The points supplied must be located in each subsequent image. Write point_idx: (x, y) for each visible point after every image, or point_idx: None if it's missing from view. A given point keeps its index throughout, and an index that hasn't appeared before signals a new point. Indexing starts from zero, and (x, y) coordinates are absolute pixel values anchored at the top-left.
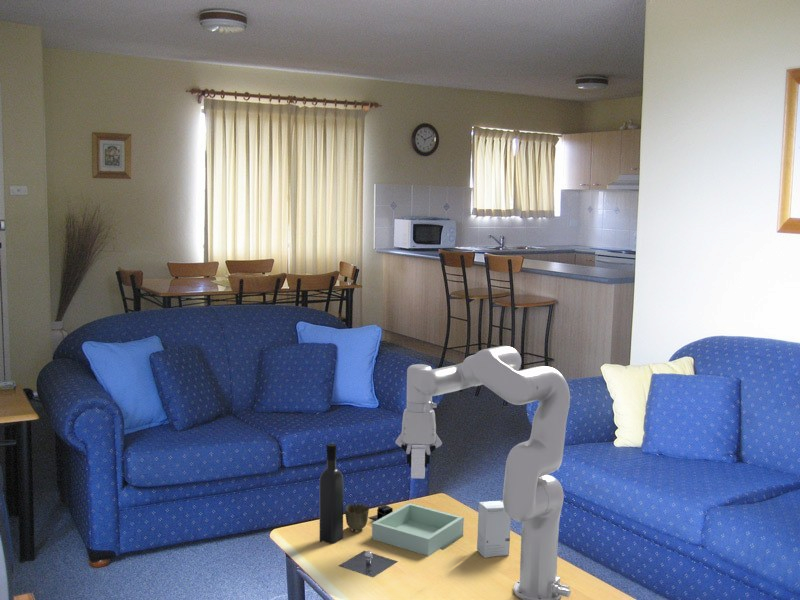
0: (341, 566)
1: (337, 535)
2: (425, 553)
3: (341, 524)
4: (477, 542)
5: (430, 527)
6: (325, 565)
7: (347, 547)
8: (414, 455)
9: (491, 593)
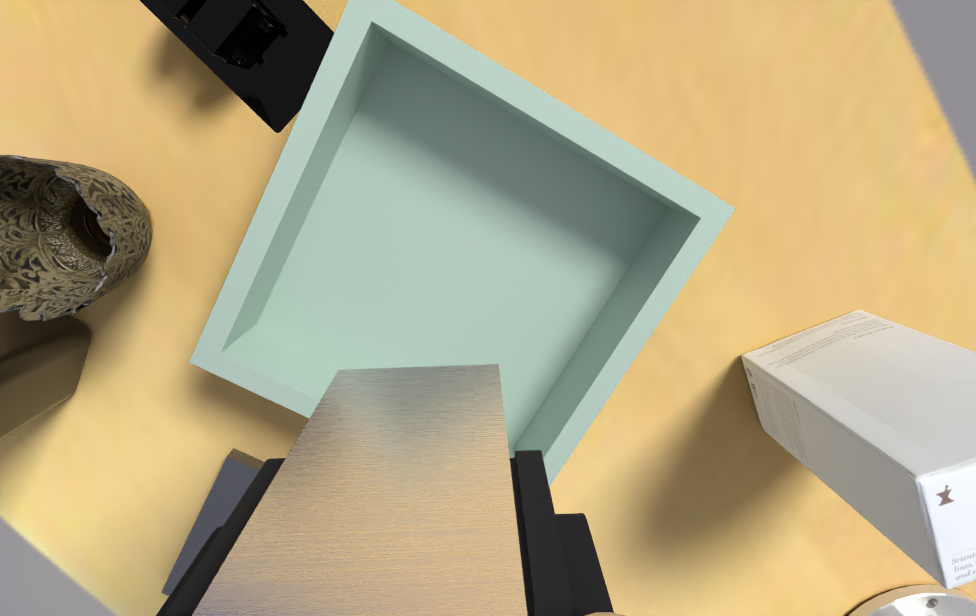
0: None
1: (49, 396)
2: None
3: (20, 386)
4: (759, 373)
5: (517, 144)
6: (107, 559)
7: (139, 393)
8: None
9: None
